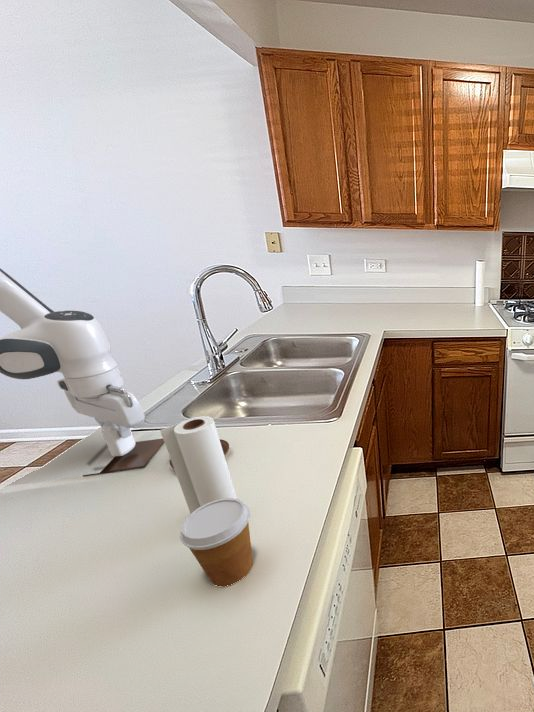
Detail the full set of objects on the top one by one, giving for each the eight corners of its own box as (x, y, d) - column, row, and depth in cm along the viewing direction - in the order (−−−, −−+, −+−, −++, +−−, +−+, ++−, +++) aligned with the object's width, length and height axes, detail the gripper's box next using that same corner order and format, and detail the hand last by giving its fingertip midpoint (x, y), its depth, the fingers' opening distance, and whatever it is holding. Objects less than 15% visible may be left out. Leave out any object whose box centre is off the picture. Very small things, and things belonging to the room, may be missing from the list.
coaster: (82, 476, 90) (81, 474, 90) (112, 446, 101) (111, 444, 100) (144, 468, 93) (143, 466, 93) (167, 439, 104) (166, 437, 103)
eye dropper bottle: (143, 445, 98) (126, 403, 93) (117, 458, 93) (98, 414, 88) (131, 442, 99) (114, 400, 94) (105, 455, 94) (86, 411, 90)
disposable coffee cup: (190, 603, 62) (166, 547, 58) (209, 554, 71) (190, 502, 66) (256, 588, 65) (239, 533, 60) (268, 542, 73) (253, 491, 68)
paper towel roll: (247, 507, 81) (221, 417, 73) (222, 529, 76) (191, 435, 68) (219, 500, 83) (191, 412, 75) (193, 521, 78) (159, 428, 70)
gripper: (142, 383, 88) (161, 435, 94) (85, 370, 95) (106, 419, 100) (109, 395, 83) (131, 450, 88) (52, 380, 89) (76, 432, 95)
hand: (118, 434), depth 94 cm, fingers closed on eye dropper bottle, 4 cm apart
